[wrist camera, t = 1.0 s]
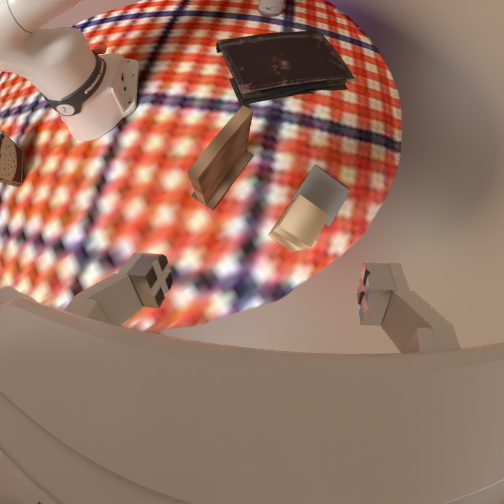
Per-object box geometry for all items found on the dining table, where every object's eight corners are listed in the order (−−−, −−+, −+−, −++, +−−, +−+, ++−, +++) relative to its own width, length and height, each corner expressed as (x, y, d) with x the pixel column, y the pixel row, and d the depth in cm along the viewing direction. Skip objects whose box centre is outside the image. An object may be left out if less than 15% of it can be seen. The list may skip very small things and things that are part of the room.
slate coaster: (291, 200, 47) (292, 198, 46) (313, 166, 48) (314, 165, 47) (328, 226, 47) (330, 225, 46) (348, 191, 48) (350, 190, 47)
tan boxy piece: (267, 235, 46) (280, 224, 35) (283, 210, 47) (300, 193, 36) (292, 252, 46) (311, 246, 35) (307, 227, 47) (330, 214, 36)
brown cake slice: (8, 155, 42) (-16, 141, 32) (23, 144, 43) (0, 128, 33) (5, 200, 42) (-22, 190, 32) (22, 190, 42) (-6, 178, 32)
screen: (213, 210, 46) (207, 184, 32) (192, 196, 45) (178, 166, 32) (252, 156, 47) (261, 115, 33) (232, 144, 47) (234, 100, 33)
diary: (216, 52, 49) (215, 37, 44) (313, 40, 52) (318, 27, 47) (241, 110, 48) (243, 95, 43) (348, 93, 51) (356, 80, 46)
